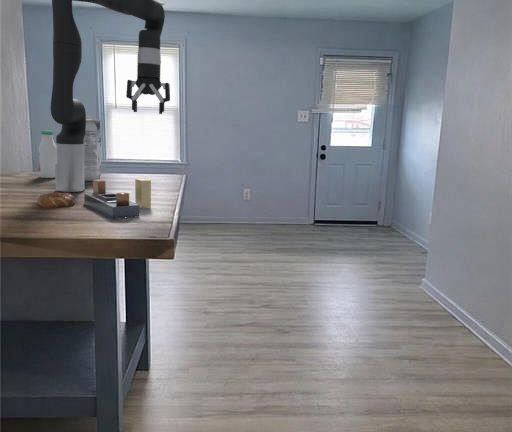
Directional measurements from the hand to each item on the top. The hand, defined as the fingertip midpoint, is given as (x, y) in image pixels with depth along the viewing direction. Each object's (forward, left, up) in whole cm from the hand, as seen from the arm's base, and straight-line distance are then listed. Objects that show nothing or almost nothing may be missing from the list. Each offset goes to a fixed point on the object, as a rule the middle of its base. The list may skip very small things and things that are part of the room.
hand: (148, 113), depth 156 cm
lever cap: (+1, -16, -30) cm, 33 cm away
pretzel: (-25, -17, -30) cm, 43 cm away
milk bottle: (-50, +40, -30) cm, 71 cm away
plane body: (-7, -22, -30) cm, 38 cm away
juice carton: (-33, +38, -30) cm, 59 cm away
